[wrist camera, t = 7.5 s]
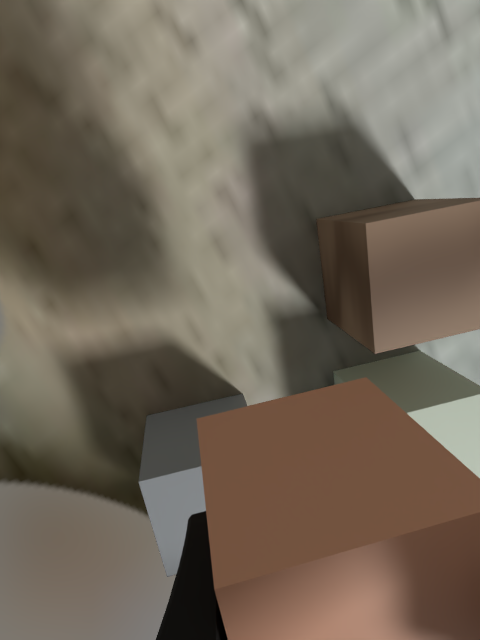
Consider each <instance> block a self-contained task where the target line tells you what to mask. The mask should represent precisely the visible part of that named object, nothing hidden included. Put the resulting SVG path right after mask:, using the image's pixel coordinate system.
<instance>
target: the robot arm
mask: <svg viewBox="0 0 480 640" xmlns="http://www.w3.org/2000/svg"><path fill="white" fill-rule="evenodd" d="M156 640H228V638H227V635H226V631H225V627H224V623H223V620H222V616H221V612H220V609H219V605H218V601H217V597H216V594H215V590H214V581H213V572H212V562H211V552H210V543H209V533H208V524H207V514H206V511H203V512H200V513H196V514H192V515H191V516H190V517H189V519H188V524H187V531H186V536H185V541H184V546H183V551H182V555H181V559H180V563H179V567H178V571H177V574H176V578H175V581H174V585H173V588H172V592H171V596H170V599H169V602H168V605H167V608H166V611H165V614H164V617H163V620H162V623H161V626H160V629H159V632H158V635H157V638H156Z"/></svg>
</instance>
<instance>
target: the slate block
mask: <svg viewBox="0 0 480 640" xmlns="http://www.w3.org/2000/svg"><path fill="white" fill-rule="evenodd" d="M246 406H247V404H246V401H245V398H244V396H243V394H239V395H235V396H230V397H226V398H222V399H217V400H213V401H209V402H204V403H200V404H195V405H191V406H187V407H182V408H178V409H174V410H169V411H165V412H161V413H156V414H152V415H148V416H147V418H146V426H145V434H144V442H143V450H142V458H141V466H140V474H139V485H140V488H141V492H142V495H143V498H144V502H145V505H146V508H147V512H148V515H149V518H150V522H151V525H152V528H153V531H154V534H155V538H156V542H157V545H158V548H159V552H160V555H161V558H162V562H163V565H164V568H165V571H166V575H167V577H169V576H172V575H175V574H177V571H178V567H179V563H180V559H181V555H182V551H183V546H184V541H185V536H186V531H187V524H188V519H189V517H190V516H191V515H192V514H196V513H200V512H203V511H206V505H205V495H204V486H203V476H202V467H201V457H200V448H199V438H198V429H197V418H201V417H205V416H209V415H214V414H218V413H222V412H226V411H230V410H234V409H238V408H242V407H246Z"/></svg>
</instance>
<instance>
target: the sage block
mask: <svg viewBox="0 0 480 640" xmlns="http://www.w3.org/2000/svg"><path fill="white" fill-rule="evenodd" d="M333 374H334V383H335V385H336V384H340V383H344V382H348V381H353V380H357V379H361V378H365V377H367V378H368V379H369V380H370V381H371V382H372V383H373V384H374V385H375V386H377V387H378V388H379V389H380V390H381V391H382V392H383V393H384V394H386V395H387V396H388V397H389V398H390V399H391V400H392V401H393V402H395V403H396V404H397V405H398V406H399V407H400V408H401V409H402V410H404V411H405V412H406V413H407V414H408V415H409V416H410V417H411V418H412V419H414V420H415V421H416V422H417V423H418V424H419V425H420V426H421V427H423V428H424V429H425V430H426V431H427V432H428V433H429V434H430V435H432V436H433V437H434V438H435V439H436V440H437V441H438V442H439V443H441V444H442V445H443V446H444V447H445V448H446V449H447V450H448V451H450V452H451V453H452V454H453V455H454V456H455V457H456V458H457V459H458V460H460V461H461V462H462V463H463V464H464V465H465V466H466V467H467V468H469V469H470V470H471V471H472V472H473V473H474V474H475V475H476V476H478V477H479V478H480V386H479V385H477V384H476V383H474V382H472V381H470V380H469V379H467V378H465V377H464V376H462V375H460V374H459V373H457V372H455V371H454V370H452V369H450V368H448V367H447V366H445V365H443V364H442V363H440V362H438V361H437V360H435V359H433V358H431V357H430V356H428V355H426V354H425V353H423V352H421V351H416V352H412V353H408V354H403V355H399V356H395V357H391V358H387V359H383V360H378V361H374V362H370V363H366V364H362V365H358V366H353V367H349V368H345V369H341V370H337V371H333Z"/></svg>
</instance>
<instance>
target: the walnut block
mask: <svg viewBox="0 0 480 640" xmlns="http://www.w3.org/2000/svg"><path fill="white" fill-rule="evenodd" d="M316 221H317V230H318V239H319V248H320V257H321V266H322V275H323V284H324V293H325V302H326V311H327V319H328V320H330V321H331V322H332V323H334V324H335V325H337V326H338V327H339V328H341V329H342V330H343V331H345V332H346V333H347V334H349V335H350V336H351V337H353V338H354V339H356V340H357V341H358V342H360V343H361V344H362V345H364V346H365V347H366V348H368V349H369V350H370V351H372V352H373V353H375V354H377V353H381V352H385V351H389V350H394V349H398V348H402V347H406V346H410V345H415V344H419V343H423V342H427V341H431V340H436V339H440V338H444V337H448V336H452V335H456V334H461V333H465V332H469V331H473V330H477V329H480V198H456V199H418V200H410V201H405V202H400V203H395V204H390V205H385V206H380V207H375V208H370V209H364V210H359V211H354V212H349V213H344V214H339V215H334V216H329V217H324V218H319V219H316Z"/></svg>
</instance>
